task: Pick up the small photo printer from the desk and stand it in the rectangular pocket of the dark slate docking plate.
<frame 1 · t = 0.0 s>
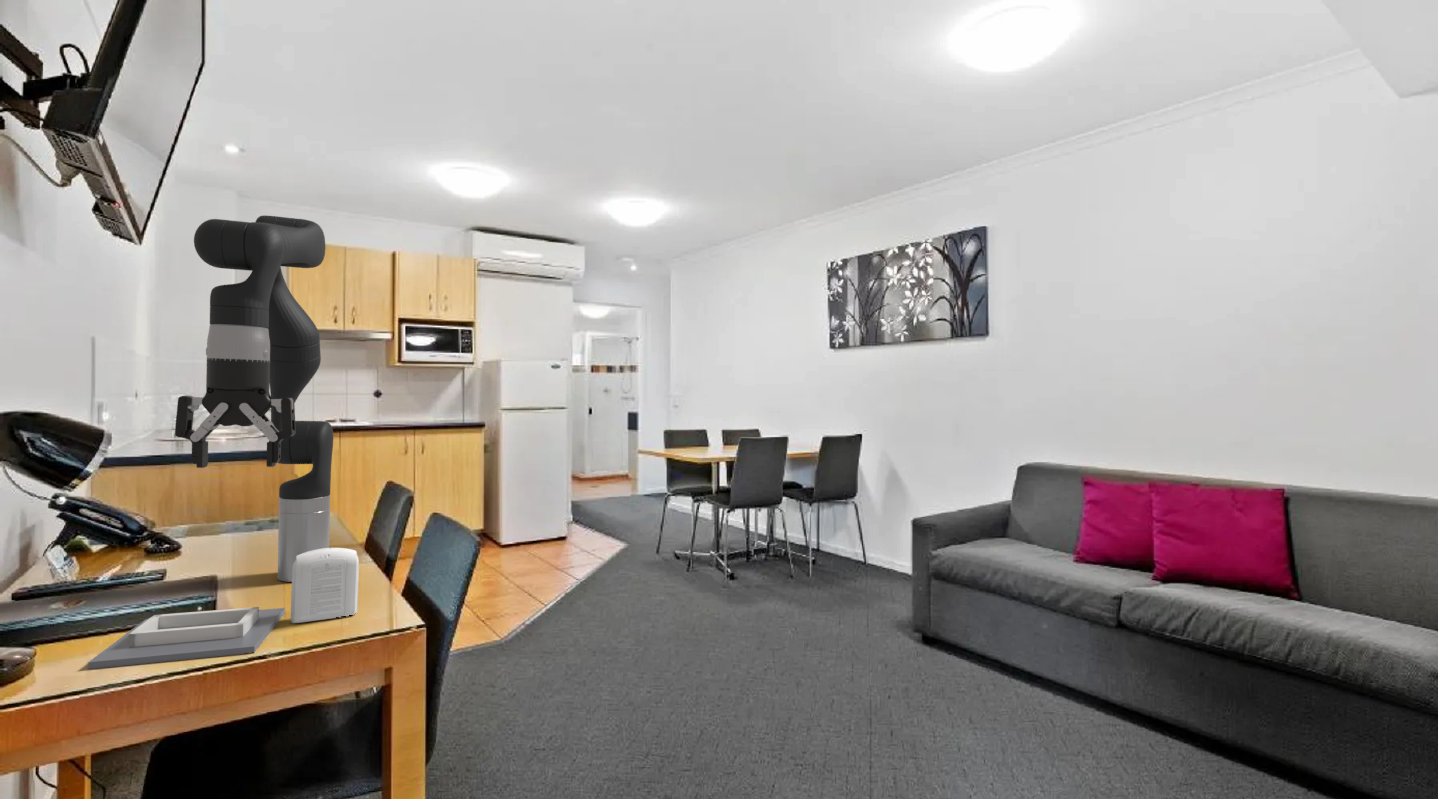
hand: (237, 466, 96), 29 cm above the table, tool pointing down, fingers open, 8 cm apart
dock: (197, 638, 105), on the table
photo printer: (324, 618, 116), on the table
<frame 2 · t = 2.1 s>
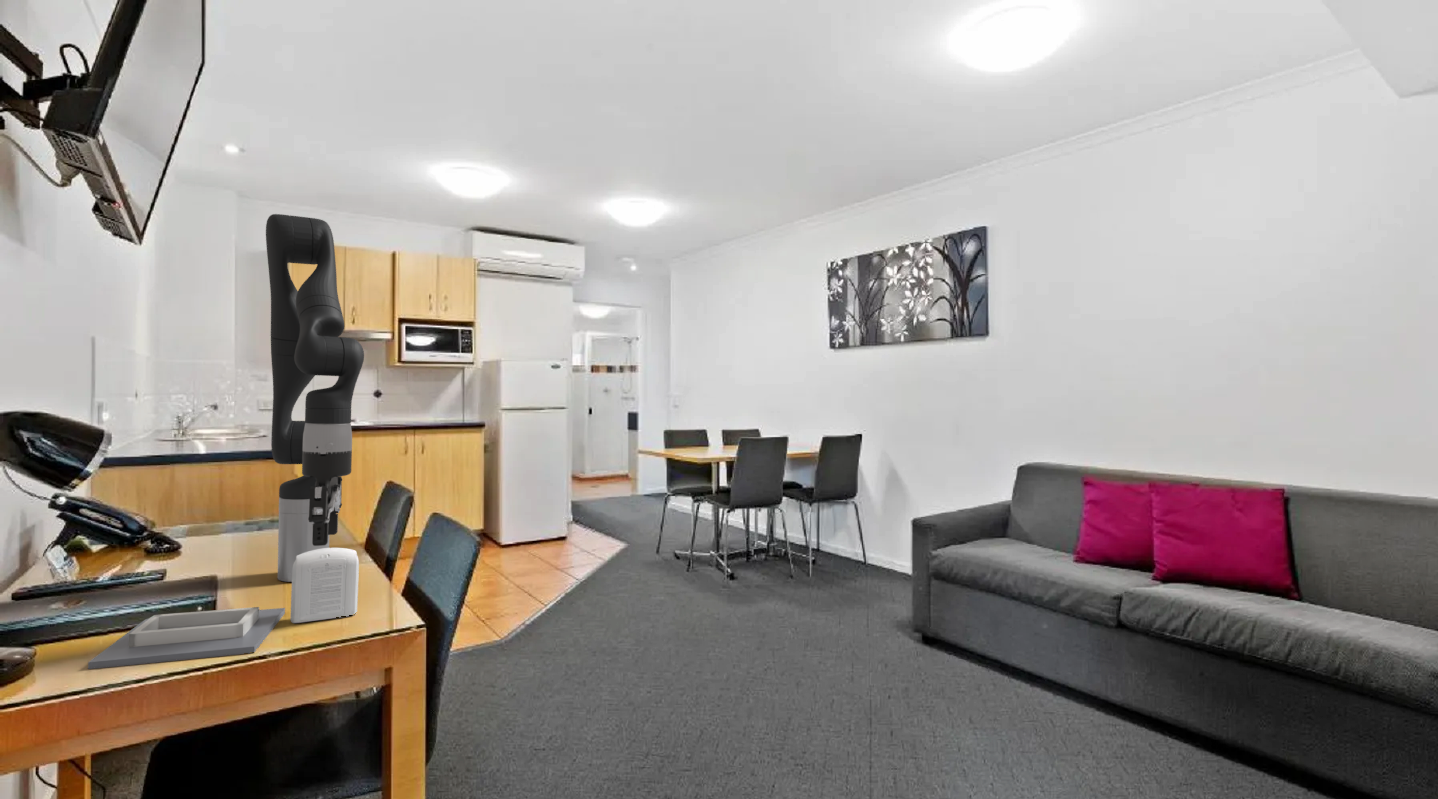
hand: (325, 539, 115), 14 cm above the table, tool pointing down, fingers open, 8 cm apart
nothing on the table moved.
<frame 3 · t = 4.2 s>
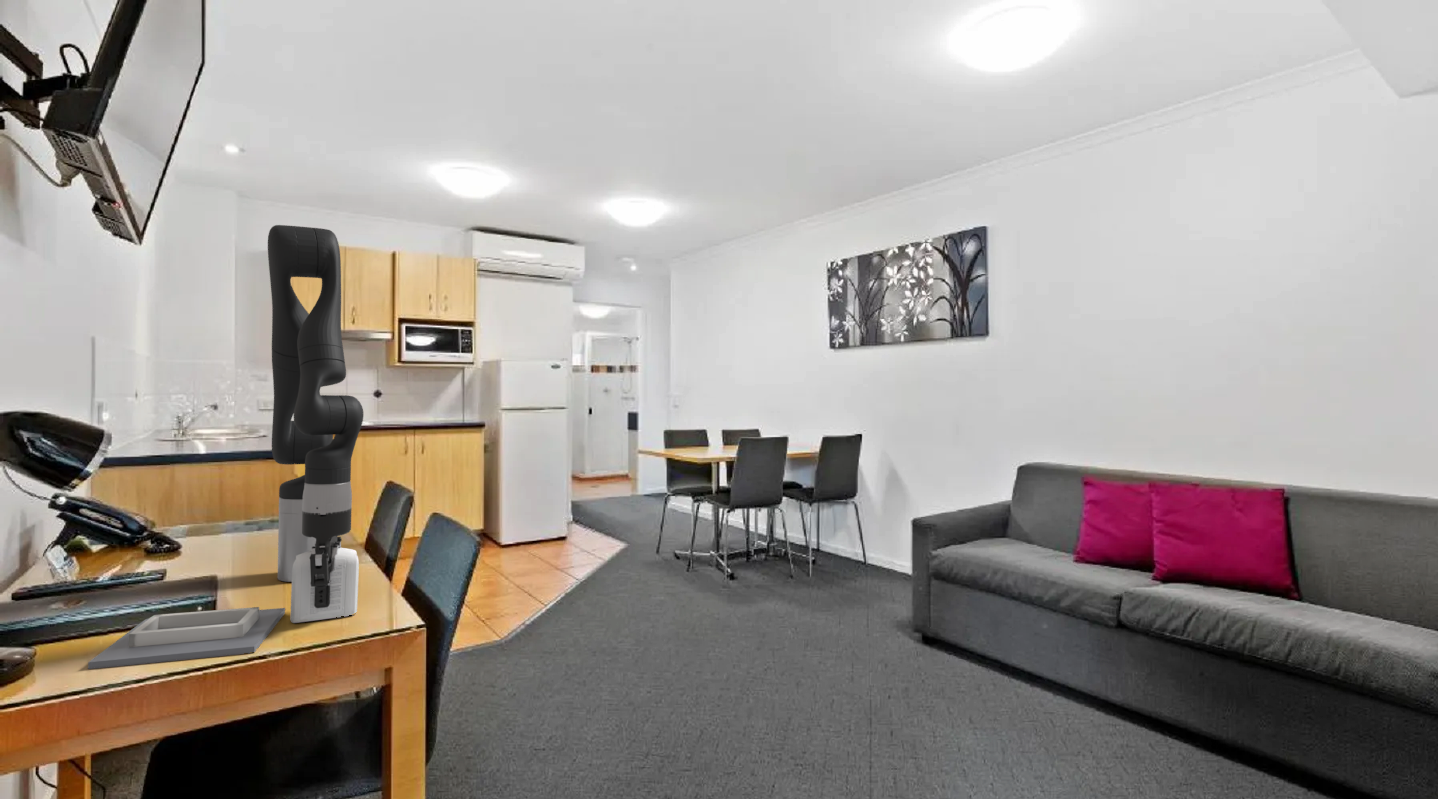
hand: (325, 601, 116), 3 cm above the table, tool pointing down, fingers closed on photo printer, 5 cm apart
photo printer: (324, 618, 116), on the table, touching gripper
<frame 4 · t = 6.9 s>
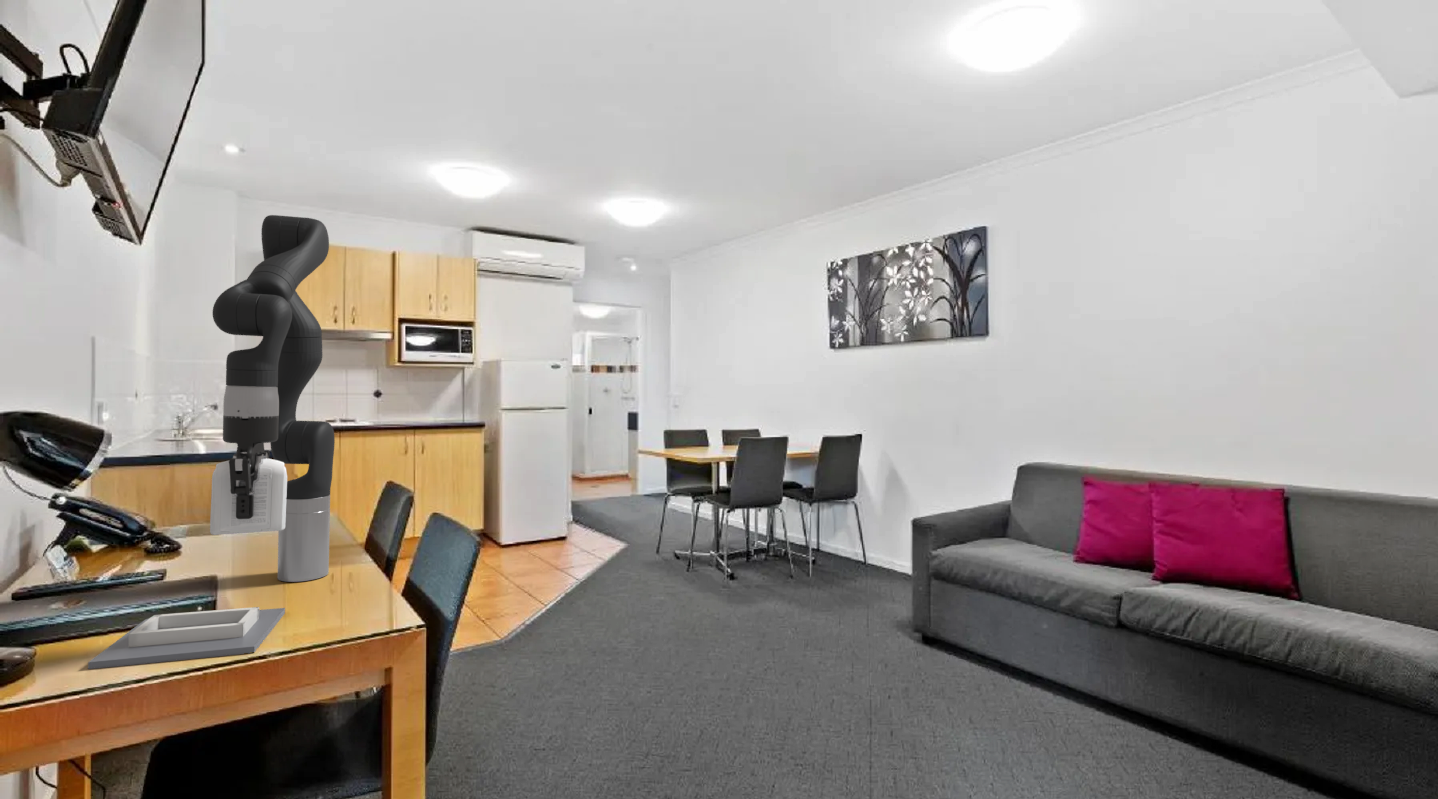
hand: (249, 514, 108), 20 cm above the table, tool pointing down, fingers closed on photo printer, 5 cm apart
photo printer: (249, 532, 108), point 16 cm above the table, touching gripper
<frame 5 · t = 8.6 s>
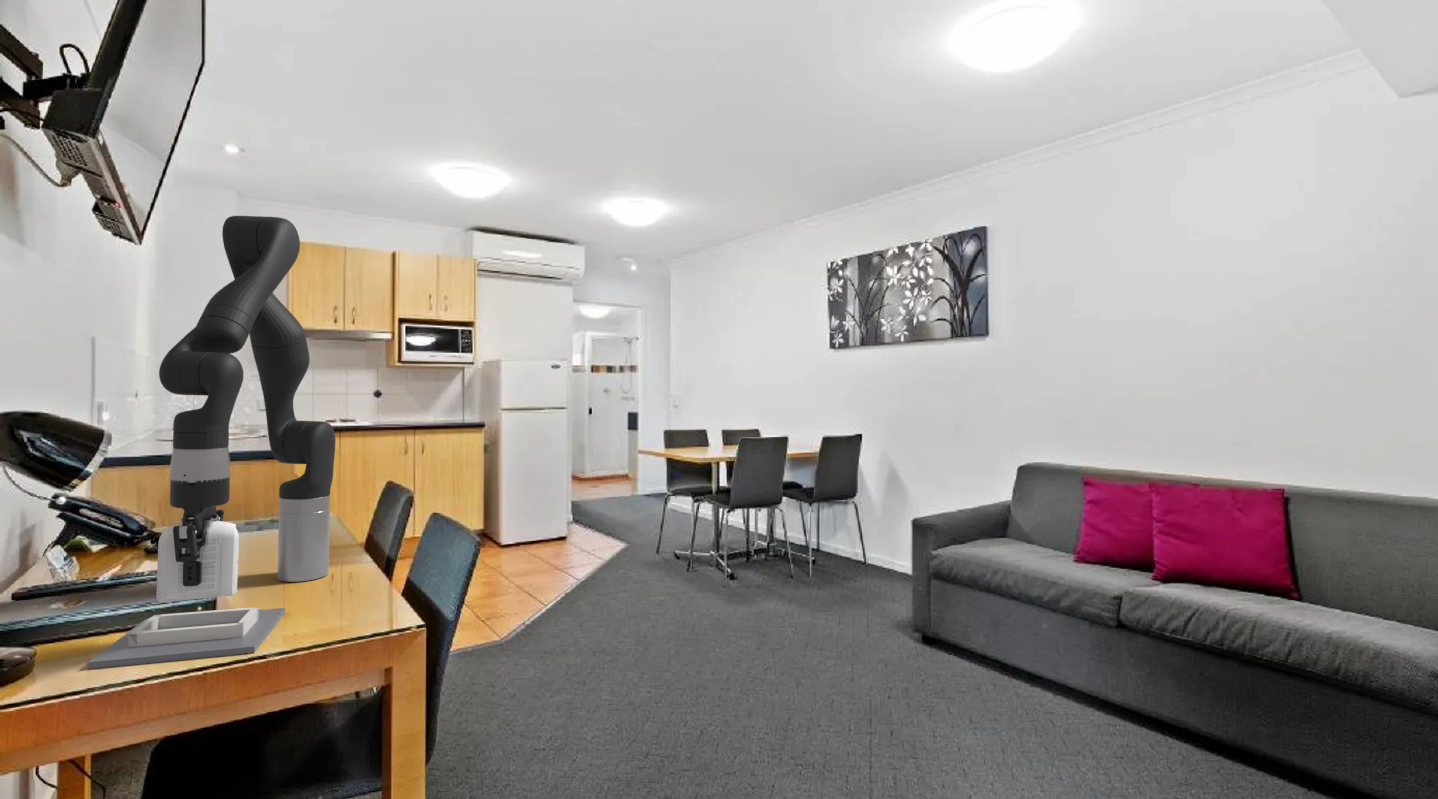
hand: (198, 580, 105), 9 cm above the table, tool pointing down, fingers closed on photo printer, 4 cm apart
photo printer: (198, 598, 105), point 6 cm above the table, touching gripper
when the fingers open (5 cm above the table, at t = 9.8 s): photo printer drops 1 cm, resting on dock.
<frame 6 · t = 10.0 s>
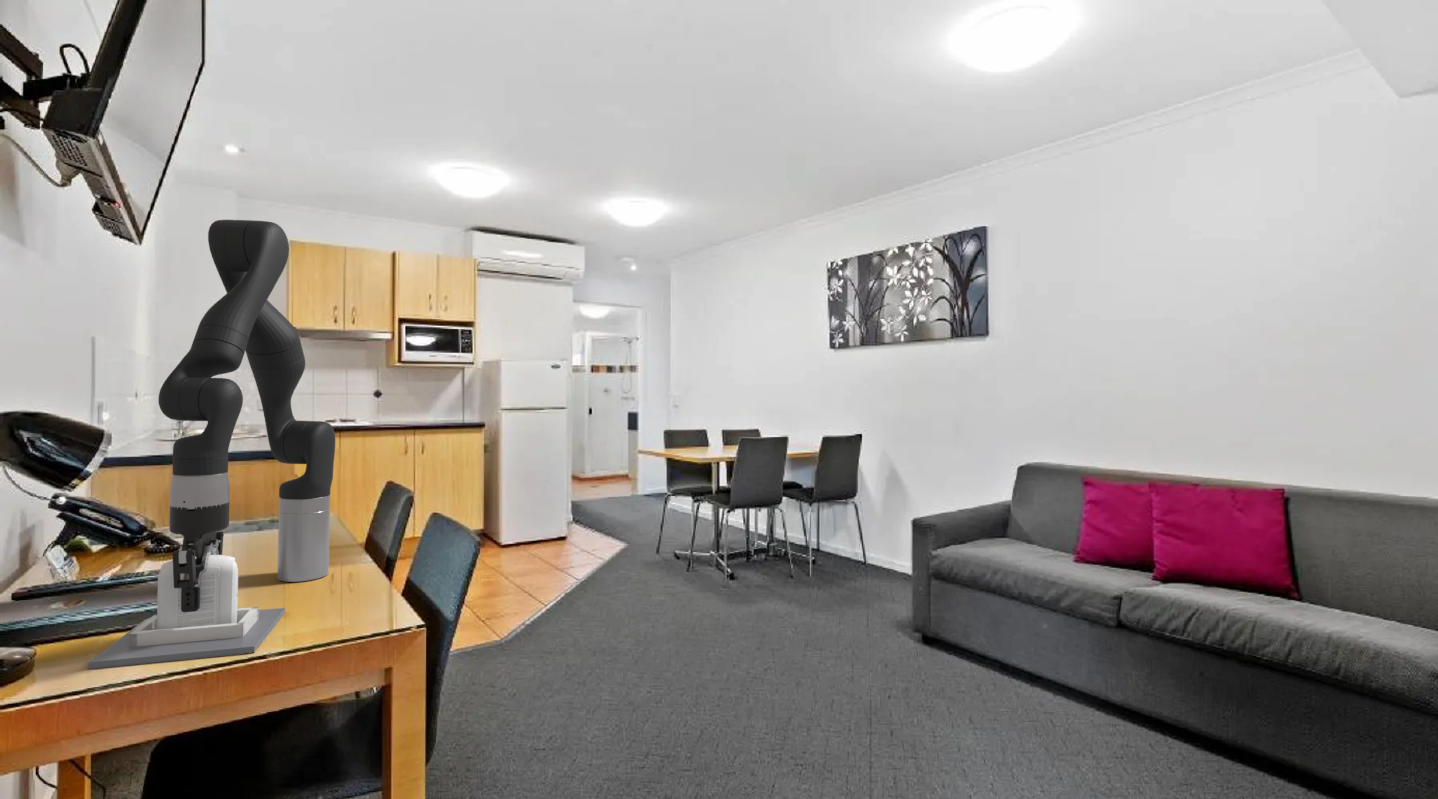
hand: (198, 603, 105), 6 cm above the table, tool pointing down, fingers open, 6 cm apart
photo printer: (198, 632, 105), point 1 cm above the table, touching dock
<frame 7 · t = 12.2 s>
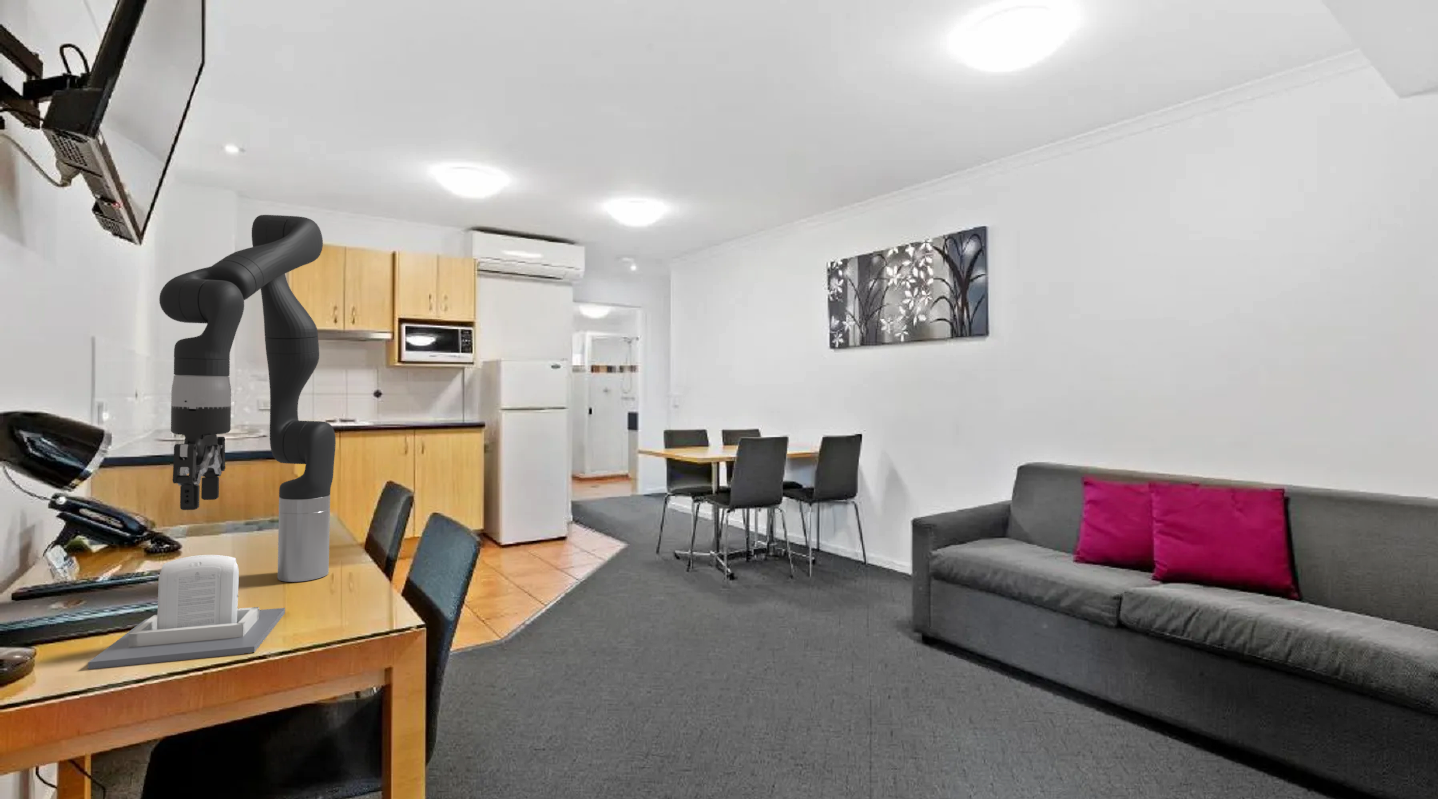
hand: (200, 504, 104), 22 cm above the table, tool pointing down, fingers open, 8 cm apart
nothing on the table moved.
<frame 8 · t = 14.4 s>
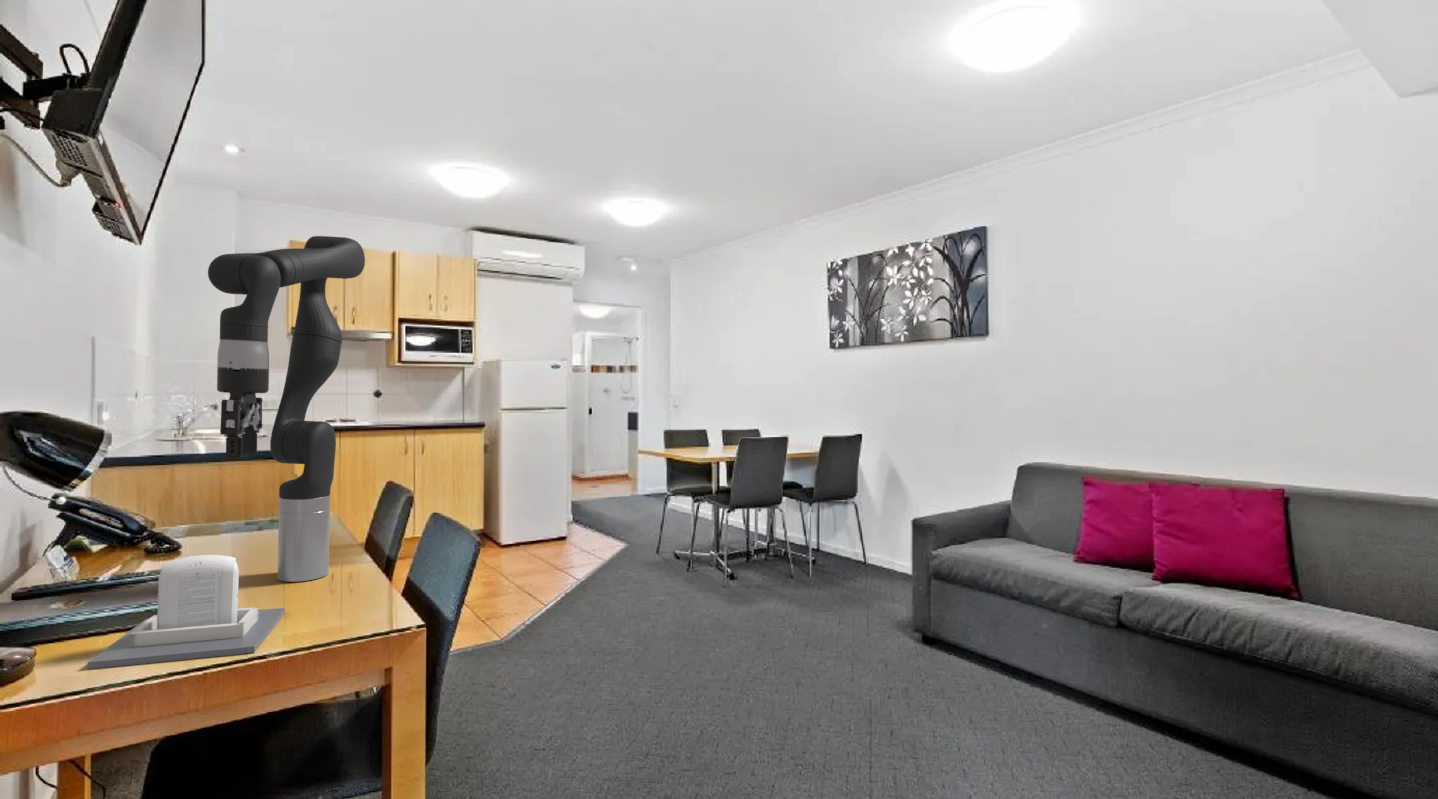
hand: (241, 455, 117), 28 cm above the table, tool pointing down, fingers open, 8 cm apart
nothing on the table moved.
at the end: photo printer 0.1 cm off-centre on the dock, point 0.8 cm above the dock's base; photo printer tilted 0°; the gripper is holding nothing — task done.
